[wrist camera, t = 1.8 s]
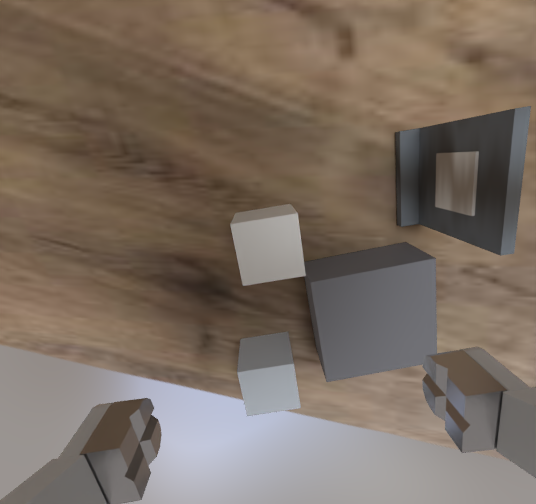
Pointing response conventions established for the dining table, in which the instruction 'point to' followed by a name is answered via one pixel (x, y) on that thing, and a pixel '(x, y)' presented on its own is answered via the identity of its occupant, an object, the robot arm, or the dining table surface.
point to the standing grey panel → (465, 178)
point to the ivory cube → (268, 244)
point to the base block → (372, 309)
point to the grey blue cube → (267, 374)
